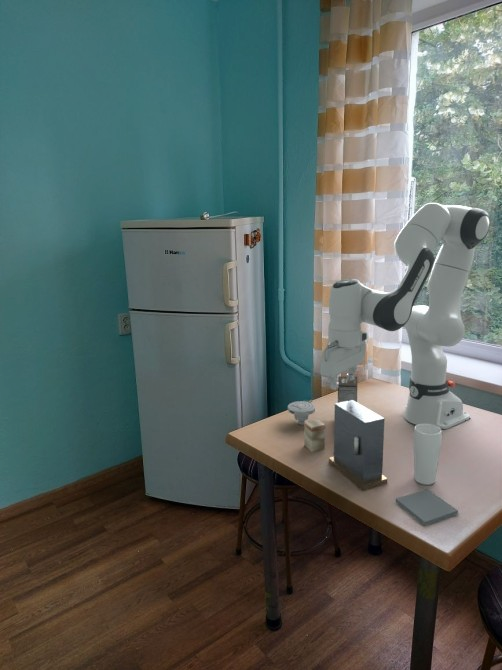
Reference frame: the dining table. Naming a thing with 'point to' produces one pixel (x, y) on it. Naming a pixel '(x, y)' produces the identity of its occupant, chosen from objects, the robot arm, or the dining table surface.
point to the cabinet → (358, 444)
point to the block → (314, 435)
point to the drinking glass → (426, 452)
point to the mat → (426, 506)
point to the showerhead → (301, 410)
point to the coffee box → (347, 389)
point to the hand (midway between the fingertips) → (342, 384)
